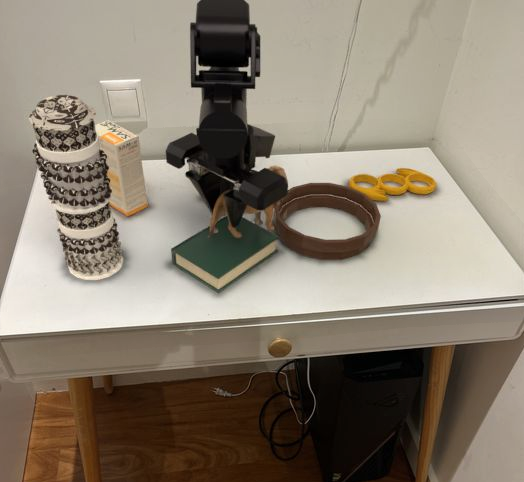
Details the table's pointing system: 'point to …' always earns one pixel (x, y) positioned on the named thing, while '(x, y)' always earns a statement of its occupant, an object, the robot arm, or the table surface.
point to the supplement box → (123, 167)
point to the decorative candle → (77, 185)
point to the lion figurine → (221, 210)
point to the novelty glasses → (403, 179)
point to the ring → (323, 198)
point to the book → (224, 253)
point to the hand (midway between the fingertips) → (225, 220)
